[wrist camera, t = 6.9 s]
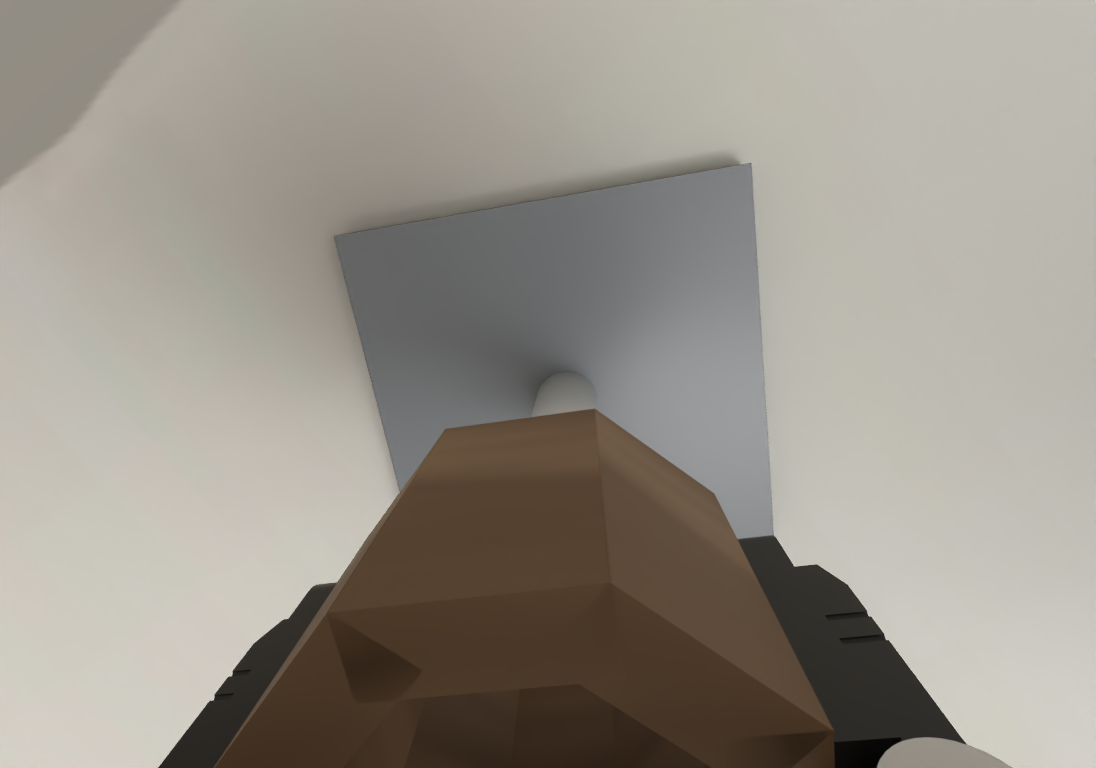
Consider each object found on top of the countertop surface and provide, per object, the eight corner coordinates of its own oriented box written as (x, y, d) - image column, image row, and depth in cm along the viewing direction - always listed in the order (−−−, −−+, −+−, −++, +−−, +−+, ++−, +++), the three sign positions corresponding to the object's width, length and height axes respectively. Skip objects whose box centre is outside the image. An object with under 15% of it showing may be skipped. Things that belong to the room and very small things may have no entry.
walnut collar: (705, 392, 9) (830, 558, 4) (732, 696, 10) (842, 1034, 6) (343, 442, 9) (141, 631, 5) (423, 722, 11) (321, 1048, 7)
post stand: (742, 165, 18) (883, 114, 10) (766, 533, 22) (883, 730, 14) (345, 235, 20) (164, 243, 11) (430, 570, 24) (343, 769, 15)
